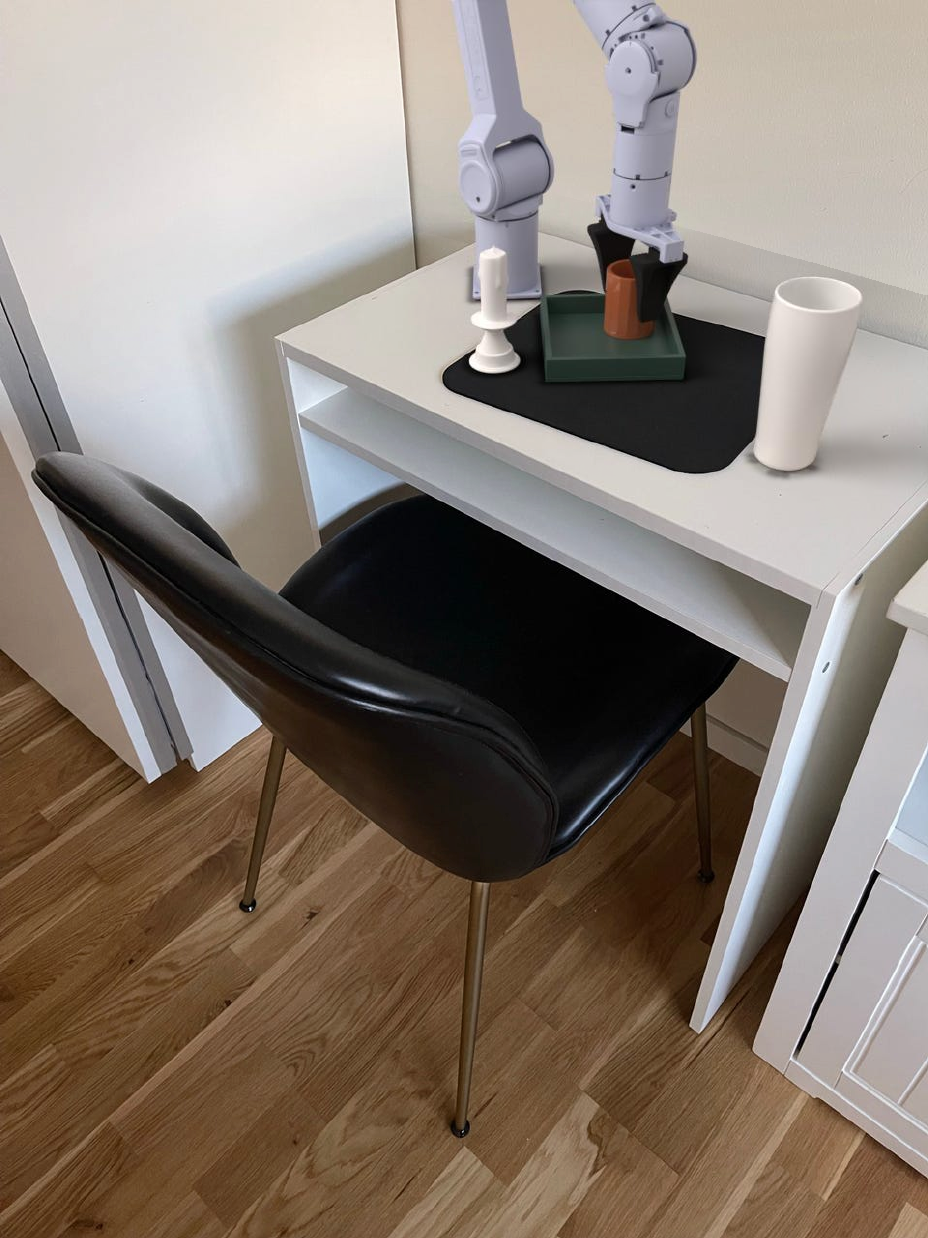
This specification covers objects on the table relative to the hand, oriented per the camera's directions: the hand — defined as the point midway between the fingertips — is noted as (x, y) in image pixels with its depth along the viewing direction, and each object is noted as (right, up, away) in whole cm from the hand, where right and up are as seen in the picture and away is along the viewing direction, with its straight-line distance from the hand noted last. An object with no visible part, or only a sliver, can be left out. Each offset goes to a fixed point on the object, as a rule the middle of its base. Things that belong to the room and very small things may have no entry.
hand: (630, 305), depth 102 cm
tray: (-2, -4, 0) cm, 5 cm away
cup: (0, -2, +2) cm, 3 cm away
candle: (-14, -7, -2) cm, 16 cm away
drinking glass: (+11, -19, -17) cm, 27 cm away
